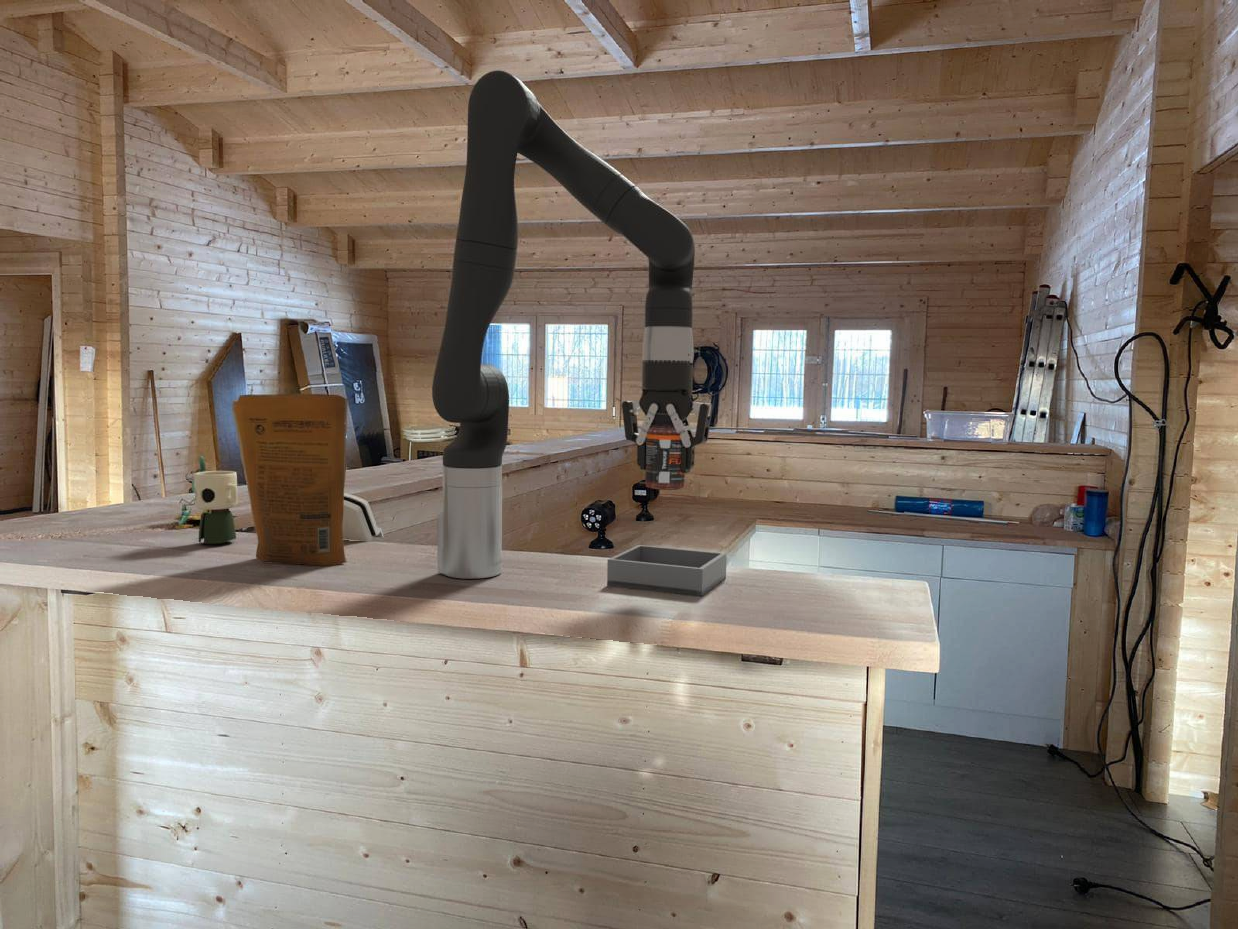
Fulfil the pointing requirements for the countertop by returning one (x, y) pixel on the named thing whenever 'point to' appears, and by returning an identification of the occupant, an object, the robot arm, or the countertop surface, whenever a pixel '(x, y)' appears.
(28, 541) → the countertop surface
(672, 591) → the bin
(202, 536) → the character mug
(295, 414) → the pancake mix bag
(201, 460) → the frog figurine
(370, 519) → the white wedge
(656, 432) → the supplement bottle
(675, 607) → the countertop surface
